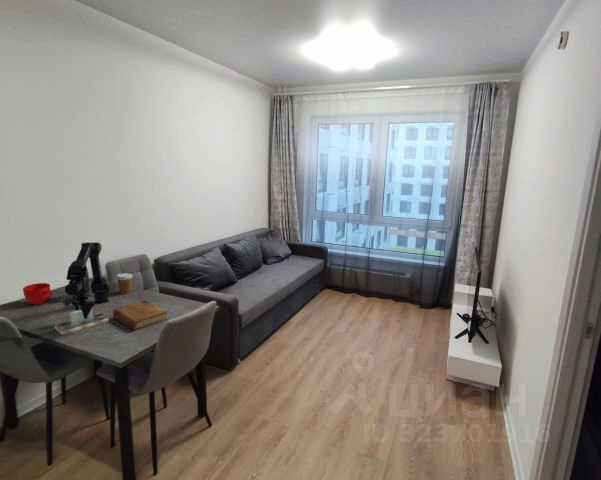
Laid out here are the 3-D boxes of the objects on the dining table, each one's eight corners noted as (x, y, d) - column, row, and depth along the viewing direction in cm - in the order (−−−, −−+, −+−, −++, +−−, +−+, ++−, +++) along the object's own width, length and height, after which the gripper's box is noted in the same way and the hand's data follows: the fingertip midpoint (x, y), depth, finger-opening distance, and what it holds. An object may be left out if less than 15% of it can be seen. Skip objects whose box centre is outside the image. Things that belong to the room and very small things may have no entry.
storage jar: (73, 294, 225) (71, 272, 222) (91, 293, 229) (89, 271, 226) (71, 300, 216) (68, 276, 213) (89, 298, 221) (87, 275, 218)
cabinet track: (100, 315, 197) (100, 310, 196) (108, 321, 191) (108, 316, 190) (55, 328, 180) (54, 323, 179) (62, 334, 174) (61, 329, 173)
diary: (113, 319, 195) (112, 309, 194) (145, 309, 209) (145, 300, 208) (135, 331, 181) (134, 321, 180) (167, 320, 196) (167, 310, 195)
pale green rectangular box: (91, 319, 190) (90, 307, 188) (93, 320, 188) (92, 308, 187) (70, 325, 182) (69, 312, 181) (72, 326, 180) (71, 314, 179)
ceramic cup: (43, 308, 203) (41, 292, 201) (18, 305, 206) (16, 288, 204) (62, 300, 215) (60, 285, 213) (39, 297, 218) (37, 282, 216)
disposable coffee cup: (120, 289, 237) (119, 272, 235) (135, 289, 239) (134, 272, 236) (115, 294, 228) (113, 277, 226) (130, 294, 229) (129, 277, 227)
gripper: (54, 287, 181) (57, 315, 184) (68, 296, 169) (71, 326, 172) (78, 282, 189) (81, 309, 192) (93, 291, 178) (95, 319, 181)
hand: (81, 316), depth 184 cm, fingers open, 9 cm apart
